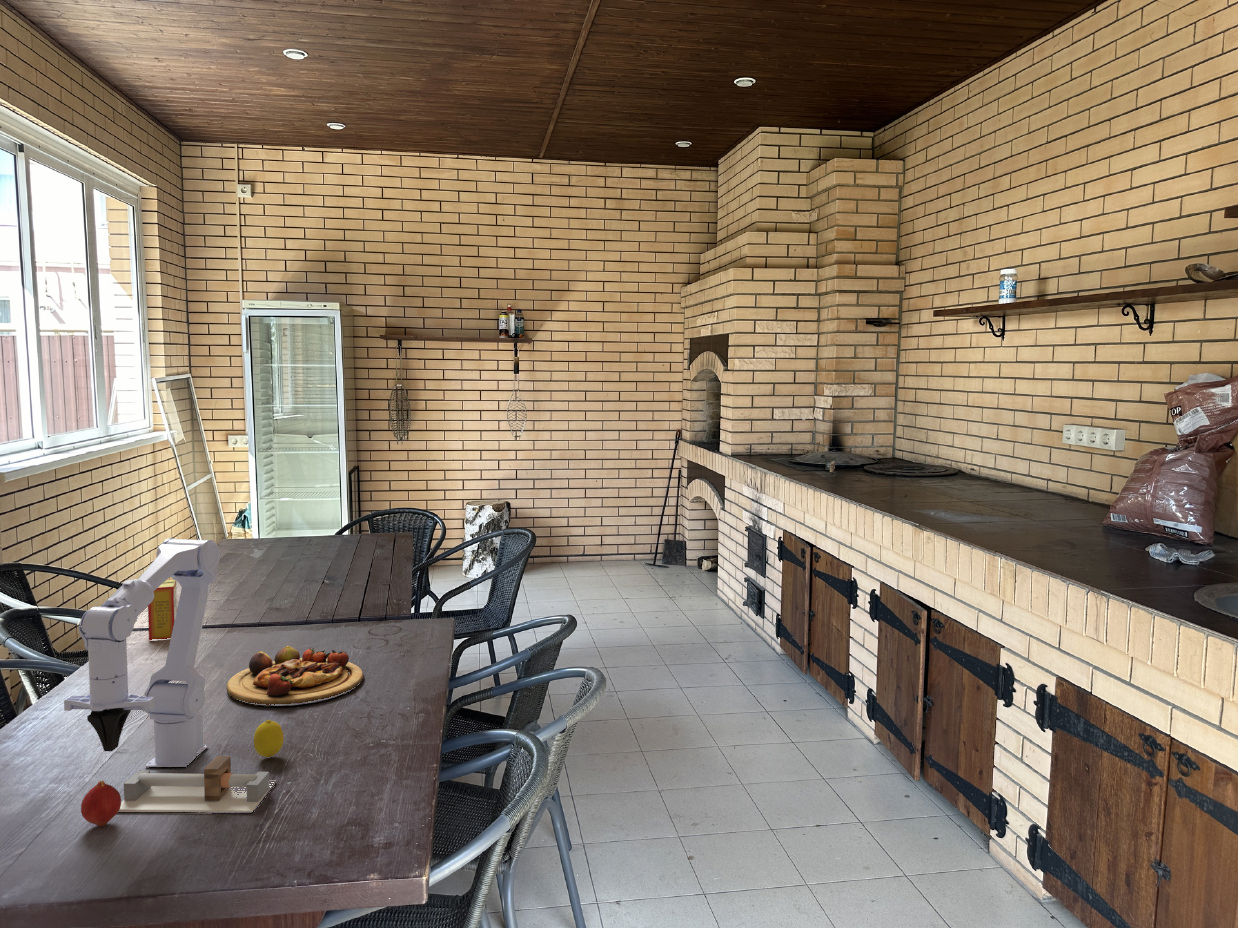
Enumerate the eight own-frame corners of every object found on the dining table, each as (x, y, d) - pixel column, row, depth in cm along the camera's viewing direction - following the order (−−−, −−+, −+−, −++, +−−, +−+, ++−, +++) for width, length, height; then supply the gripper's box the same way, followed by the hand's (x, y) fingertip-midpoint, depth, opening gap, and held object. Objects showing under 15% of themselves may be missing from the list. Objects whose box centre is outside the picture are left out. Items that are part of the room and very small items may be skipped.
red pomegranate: (76, 826, 139) (74, 781, 138) (113, 812, 144) (111, 768, 143) (89, 838, 136) (87, 792, 135) (127, 824, 140) (126, 779, 139)
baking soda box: (174, 639, 239) (173, 585, 237) (149, 641, 236) (147, 587, 234) (177, 630, 247) (175, 578, 246) (152, 632, 245) (150, 579, 243)
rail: (113, 812, 144) (112, 787, 143) (147, 782, 155) (146, 758, 154) (252, 813, 145) (251, 788, 144) (276, 783, 156) (276, 760, 155)
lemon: (287, 752, 169) (287, 714, 168) (277, 764, 163) (277, 725, 162) (260, 751, 169) (259, 714, 168) (249, 764, 163) (248, 725, 162)
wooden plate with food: (317, 716, 188) (318, 681, 187) (196, 700, 194) (196, 666, 194) (386, 672, 219) (386, 642, 218) (279, 660, 225) (279, 630, 225)
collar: (204, 800, 147) (203, 768, 147) (217, 786, 152) (217, 755, 152) (218, 800, 147) (217, 769, 147) (231, 786, 152) (230, 755, 152)
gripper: (51, 681, 140) (54, 758, 141) (138, 682, 140) (140, 759, 142) (77, 667, 147) (80, 740, 148) (159, 668, 147) (161, 741, 149)
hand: (111, 748), depth 145 cm, fingers closed
